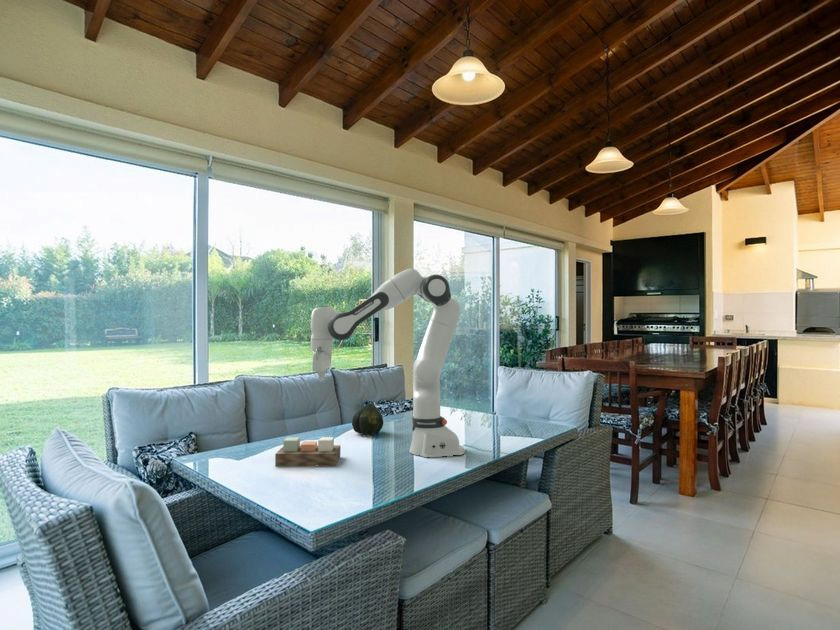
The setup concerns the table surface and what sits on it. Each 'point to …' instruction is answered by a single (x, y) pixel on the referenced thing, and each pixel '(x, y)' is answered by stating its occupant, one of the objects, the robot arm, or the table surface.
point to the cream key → (326, 444)
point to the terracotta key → (309, 446)
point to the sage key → (291, 444)
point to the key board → (308, 457)
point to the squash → (367, 420)
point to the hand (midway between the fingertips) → (321, 381)
